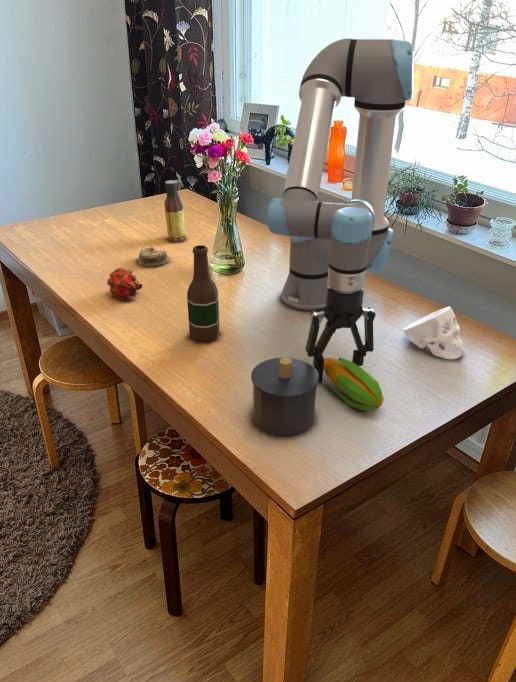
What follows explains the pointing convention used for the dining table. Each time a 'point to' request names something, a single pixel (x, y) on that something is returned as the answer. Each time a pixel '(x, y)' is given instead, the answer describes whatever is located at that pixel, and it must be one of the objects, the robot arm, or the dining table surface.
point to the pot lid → (285, 377)
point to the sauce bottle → (174, 213)
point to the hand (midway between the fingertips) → (336, 378)
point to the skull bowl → (437, 333)
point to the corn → (353, 384)
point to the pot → (283, 413)
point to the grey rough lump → (152, 257)
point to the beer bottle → (202, 300)
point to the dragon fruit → (123, 283)
